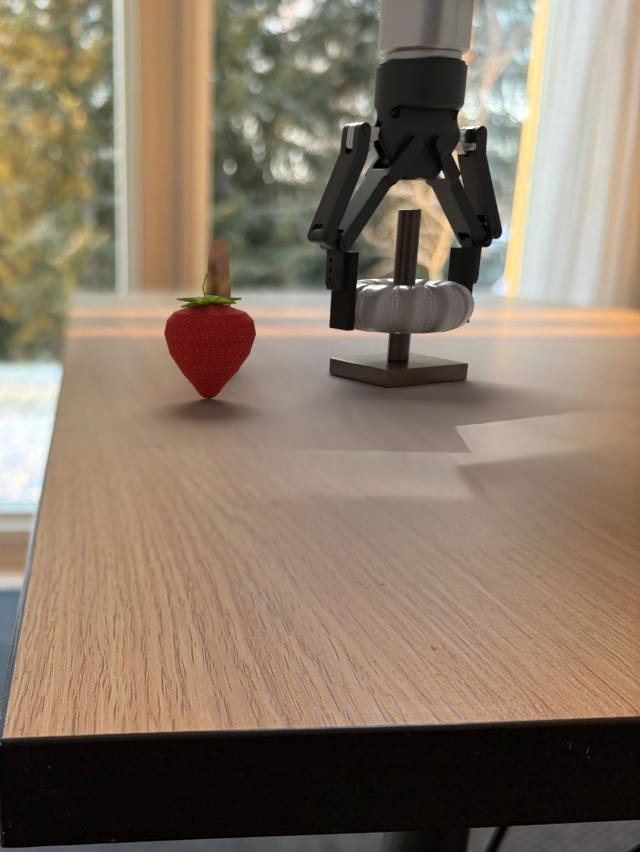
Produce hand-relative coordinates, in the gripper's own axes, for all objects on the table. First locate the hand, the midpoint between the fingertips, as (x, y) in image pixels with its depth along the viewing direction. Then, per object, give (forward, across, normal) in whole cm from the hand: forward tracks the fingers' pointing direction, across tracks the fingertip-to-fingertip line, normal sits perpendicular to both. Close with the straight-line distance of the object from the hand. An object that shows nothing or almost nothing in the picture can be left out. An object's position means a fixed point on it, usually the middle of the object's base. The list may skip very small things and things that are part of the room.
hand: (400, 325), depth 97 cm
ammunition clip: (+5, +13, -11) cm, 18 cm away
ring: (-2, 0, 0) cm, 2 cm away
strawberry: (+5, +21, +2) cm, 22 cm away
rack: (+5, 0, 0) cm, 5 cm away
